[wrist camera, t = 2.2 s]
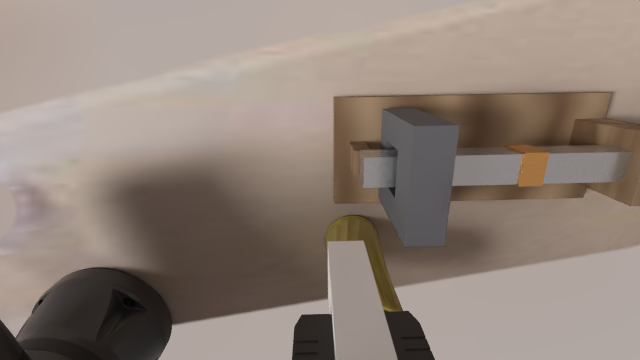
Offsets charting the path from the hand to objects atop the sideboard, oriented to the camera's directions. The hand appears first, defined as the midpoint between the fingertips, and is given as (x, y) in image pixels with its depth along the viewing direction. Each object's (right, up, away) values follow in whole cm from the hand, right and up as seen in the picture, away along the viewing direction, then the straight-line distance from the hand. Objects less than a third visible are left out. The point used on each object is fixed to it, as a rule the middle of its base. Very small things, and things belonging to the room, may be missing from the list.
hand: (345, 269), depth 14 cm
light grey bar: (+13, +6, +15) cm, 21 cm away
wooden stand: (+13, +7, +20) cm, 25 cm away
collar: (+6, +6, +18) cm, 20 cm away
